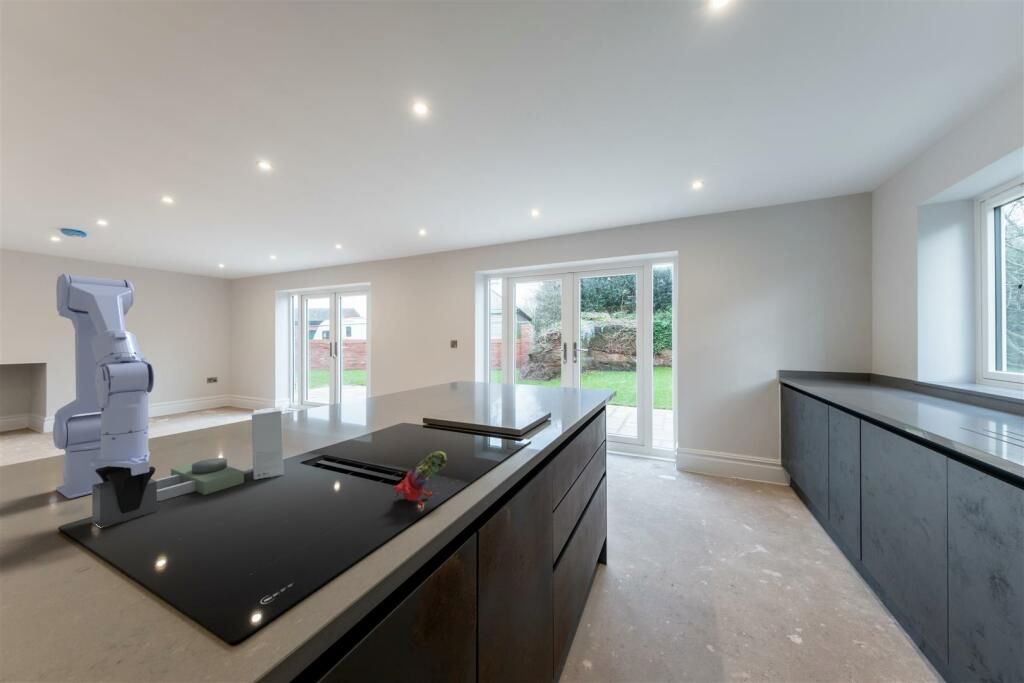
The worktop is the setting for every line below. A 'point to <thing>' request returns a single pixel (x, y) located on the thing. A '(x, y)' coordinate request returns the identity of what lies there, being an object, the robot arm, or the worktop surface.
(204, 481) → the plug with prongs
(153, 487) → the grey upright slab
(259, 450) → the skincare box
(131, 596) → the worktop surface
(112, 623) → the worktop surface
